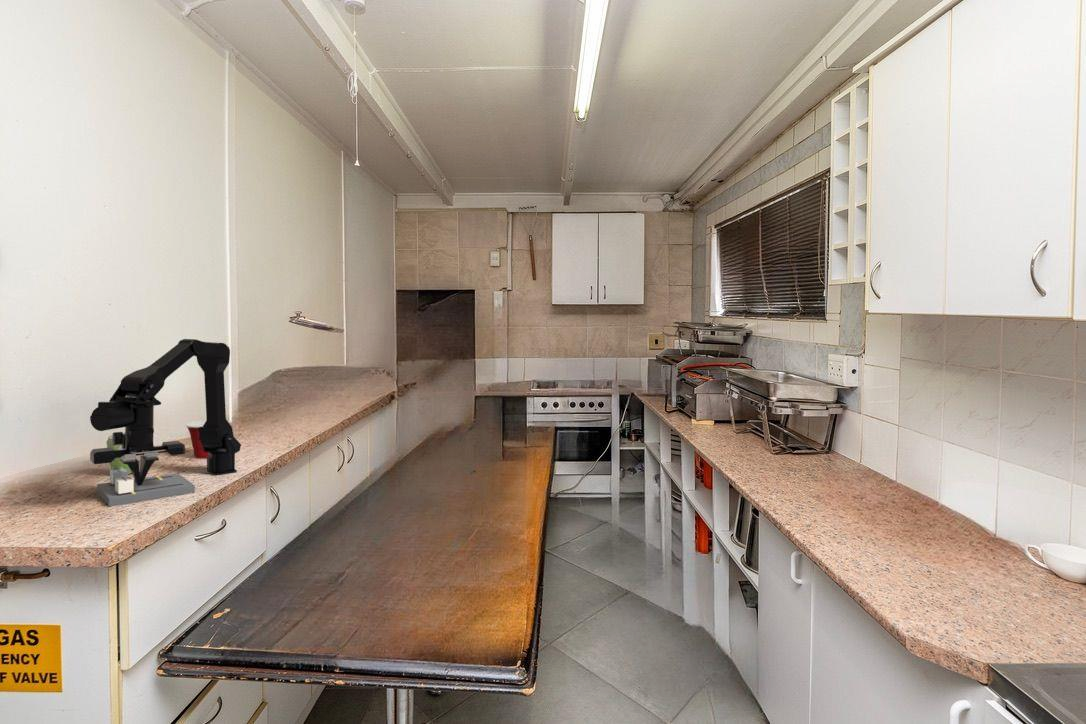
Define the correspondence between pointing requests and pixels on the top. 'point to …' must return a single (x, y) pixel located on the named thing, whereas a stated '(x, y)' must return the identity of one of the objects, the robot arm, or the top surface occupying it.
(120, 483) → the cream fader
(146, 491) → the console
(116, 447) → the beverage can
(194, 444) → the plastic cup
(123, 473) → the white fader
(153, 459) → the robot arm
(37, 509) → the top surface
